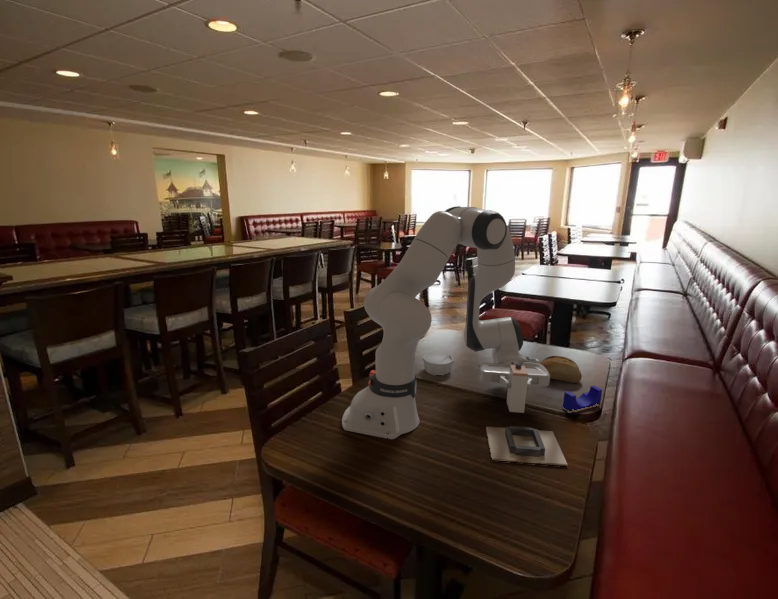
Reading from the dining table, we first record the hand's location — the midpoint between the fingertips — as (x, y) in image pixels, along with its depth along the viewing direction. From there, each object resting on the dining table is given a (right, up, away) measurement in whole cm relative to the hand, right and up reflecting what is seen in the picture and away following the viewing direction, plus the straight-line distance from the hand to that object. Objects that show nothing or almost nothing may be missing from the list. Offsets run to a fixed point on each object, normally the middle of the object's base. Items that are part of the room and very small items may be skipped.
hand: (518, 386), depth 115 cm
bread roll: (+24, -4, +30) cm, 39 cm away
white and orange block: (0, -7, +3) cm, 7 cm away
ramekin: (-18, -2, +37) cm, 41 cm away
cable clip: (+23, -9, +11) cm, 27 cm away
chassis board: (-1, -14, -8) cm, 16 cm away
